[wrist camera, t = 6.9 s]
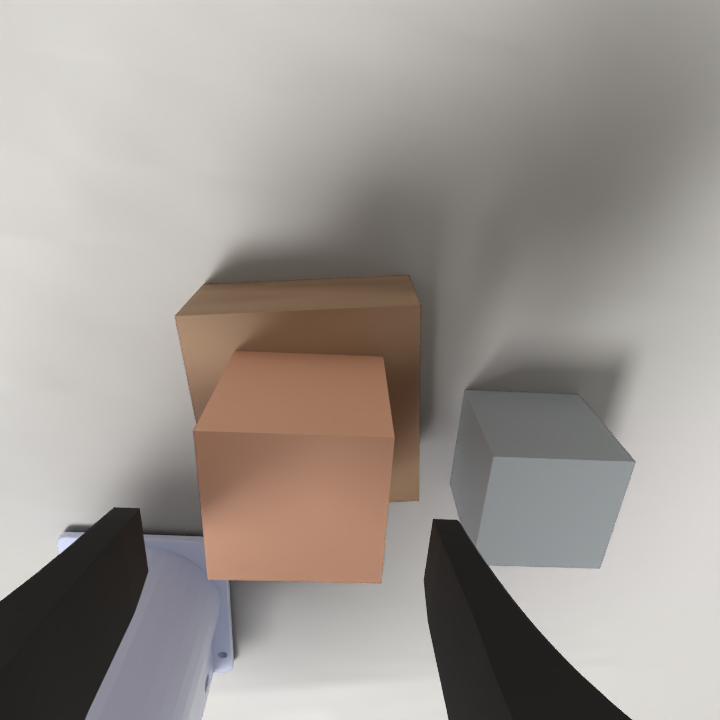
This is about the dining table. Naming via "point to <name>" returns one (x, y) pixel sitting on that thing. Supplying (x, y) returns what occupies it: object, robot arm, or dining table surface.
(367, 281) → the walnut base block
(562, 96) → the dining table surface
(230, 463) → the terracotta block
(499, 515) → the slate grey block
